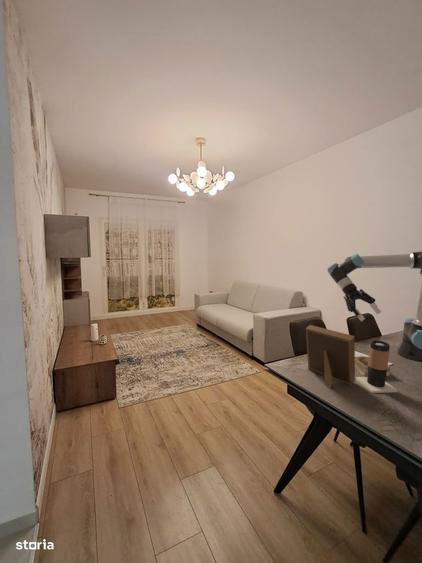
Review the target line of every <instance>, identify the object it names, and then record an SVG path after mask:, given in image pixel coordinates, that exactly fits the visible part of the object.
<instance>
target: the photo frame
mask: <svg viewBox="0 0 422 563" xmlns="http://www.w3.org/2000/svg"><path fill="white" fill-rule="evenodd" d="M305 337H306V353H307V355H306V356H307V367H308V370H310V371H313V372H315V373H319V374H321V375H323V376H324V385H326V387H328V388H329V389H332V386H333V381H334V380H336V381H338V382H341V383H343V384H346V385H348V386H352V385H353V384H354V382H355V381H356V369H355V356H356V349H355V348H356V342H355V341H356V340H355V335H351V334H347V333H344V332H340V331H335V330H332V329H327V328H324V327H319V326H316V325H312V324H309V325H308V326H307V327H306V328H305Z"/></svg>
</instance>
